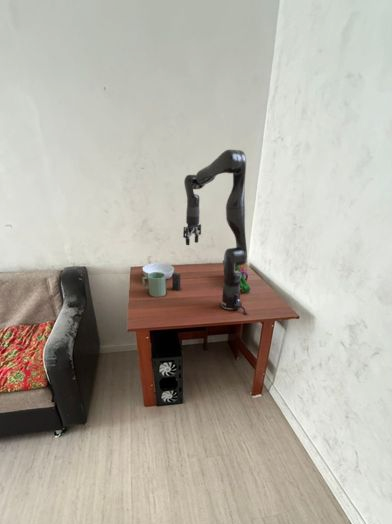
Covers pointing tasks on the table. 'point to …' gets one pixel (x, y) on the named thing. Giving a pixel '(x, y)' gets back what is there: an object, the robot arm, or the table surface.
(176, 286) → the remote
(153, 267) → the serving bowl
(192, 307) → the table surface
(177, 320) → the table surface
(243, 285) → the bouquet
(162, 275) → the green coffee mug
